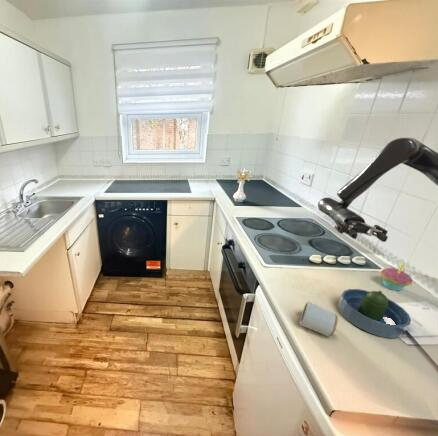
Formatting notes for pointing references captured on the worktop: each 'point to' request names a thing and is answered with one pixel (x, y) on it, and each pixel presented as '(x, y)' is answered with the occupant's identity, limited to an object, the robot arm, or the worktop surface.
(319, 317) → the ceramic mug
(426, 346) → the worktop surface
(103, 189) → the worktop surface
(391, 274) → the cupcake
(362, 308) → the green rounded cylinder
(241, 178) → the flower vase
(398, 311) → the bowl
